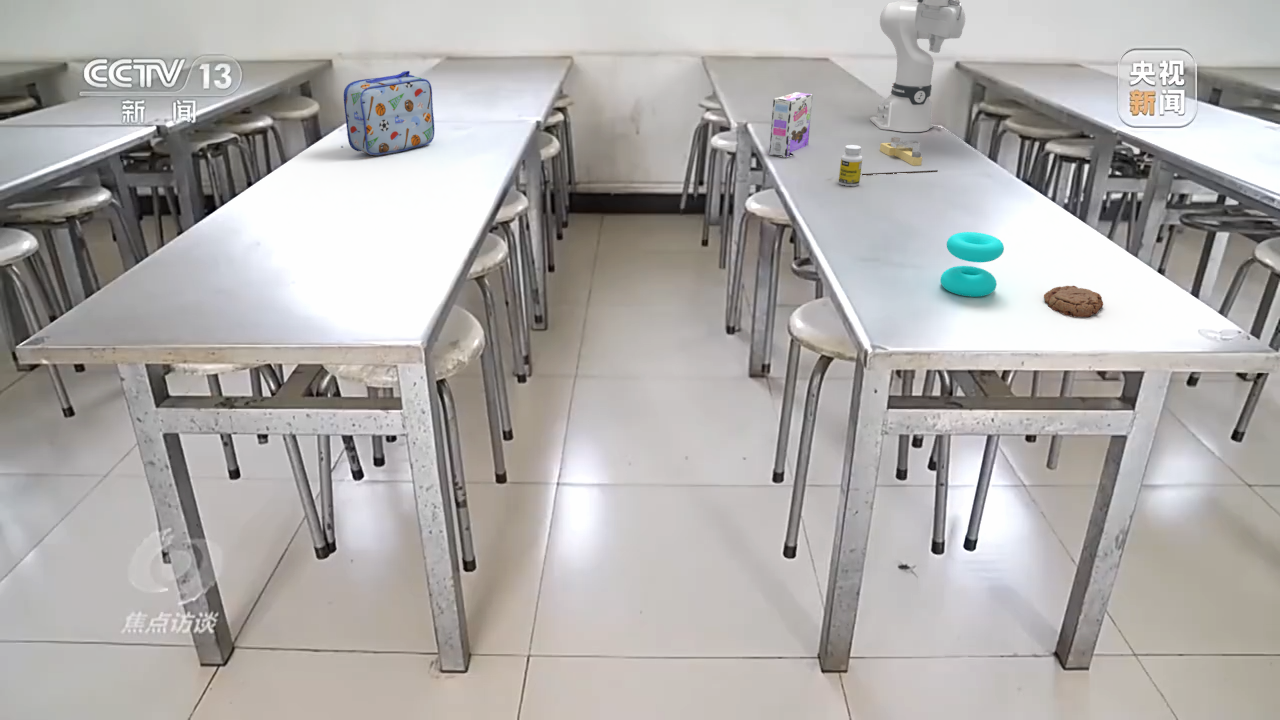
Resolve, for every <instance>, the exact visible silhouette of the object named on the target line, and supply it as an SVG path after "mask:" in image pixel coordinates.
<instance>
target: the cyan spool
mask: <svg viewBox="0 0 1280 720" xmlns="http://www.w3.org/2000/svg"><path fill="white" fill-rule="evenodd" d="M946 248H947V251H948V252H949V253H950V254H951V255H952V256H953V257H955V258H957V259H959V260H961V261H966V262H971V263H989V262H993V261H995V260H996V259H998V258H1000V257H1001V256H1002V255H1003V254H1004V250H1005V246H1004V243H1003V242H1002V241H1001V240H1000V239H999V238H998V237H996V236H993V235H991V234H987V233H981V232H975V231H963V232H958V233H954V234H953V235H951V236H949V238H948V239H947V241H946ZM940 284H941V285H942V287H943V288H944V290H946V291H948V292H950V293H952V294H955V295H959V296H964V297H972V298H977V297H978V298H979V297H986V296H988V295H990V294H992V293H993V292H994V291H995V290H996V288H997V280H996V278H995V276H994V275H993V274H992V273H991V272H989V271H987V270H986V269H984V268H980V267H977V266H972V265H957V266H952V267H950V268H948V269H947V268H946V270H945V271H943V272H942V274H941V276H940Z"/></svg>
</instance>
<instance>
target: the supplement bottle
mask: <svg viewBox="0 0 1280 720" xmlns="http://www.w3.org/2000/svg"><path fill="white" fill-rule="evenodd" d="M861 150H862V147H861V146H860V145H857V144H847V145H845V148H844V154H842V155H841V158H840V159H841V160H840V166H839V172H838V173H839V175H838V184H839V185H841V186H844V185H845V186H846V187H857V186H859V185H860V182H861V181H860V180H861V176H862V175H861V174H862V173H861V172H862V167H863V156H862V155H861ZM845 186H844V187H845Z"/></svg>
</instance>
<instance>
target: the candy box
mask: <svg viewBox="0 0 1280 720" xmlns="http://www.w3.org/2000/svg"><path fill="white" fill-rule="evenodd" d="M812 105H813V94H812V93H807V92H806V93H805V92H799V91H797V92H796V91H795V92H793V93H790V94H786V95H783V96H779V97H774V98H773V103H772V113H771V114H772V115H771V128H770V129H771V130H770V139H769V140H770V141H769V152H768V154H769V156H774V157H778V156H782V157H781V158H783V157H787V156H790V155H792V156H794V153H792V152H795V151H797V150H799V149H803V148H804V147H806V146H809V138H810V130H811V129H810V127H811V116H812V115H811V114H812ZM790 157H791V156H790ZM787 158H788V157H787Z"/></svg>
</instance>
